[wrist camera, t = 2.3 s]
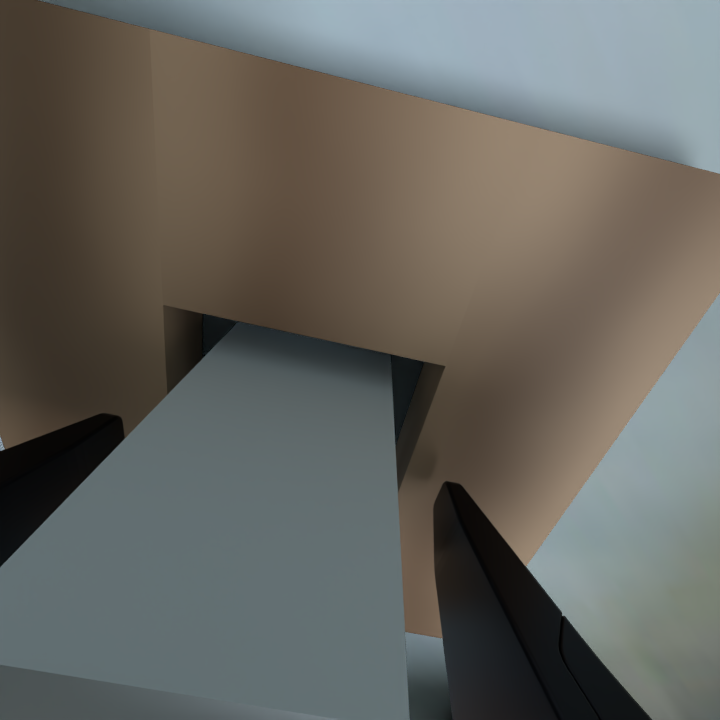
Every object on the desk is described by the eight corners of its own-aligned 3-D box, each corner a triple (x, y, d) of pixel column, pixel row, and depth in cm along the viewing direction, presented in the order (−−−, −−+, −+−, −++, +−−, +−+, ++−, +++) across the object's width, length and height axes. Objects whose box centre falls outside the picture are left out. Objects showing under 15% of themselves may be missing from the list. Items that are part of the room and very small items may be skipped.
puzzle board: (701, 188, 8) (790, 192, 6) (461, 589, 15) (471, 643, 14) (-30, 4, 7) (-161, -50, 6) (84, 520, 15) (44, 568, 13)
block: (390, 354, 10) (410, 731, 3) (358, 466, 13) (329, 843, 5) (238, 321, 10) (-82, 650, 3) (231, 440, 12) (29, 800, 5)
